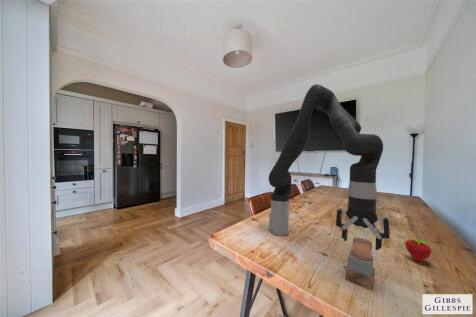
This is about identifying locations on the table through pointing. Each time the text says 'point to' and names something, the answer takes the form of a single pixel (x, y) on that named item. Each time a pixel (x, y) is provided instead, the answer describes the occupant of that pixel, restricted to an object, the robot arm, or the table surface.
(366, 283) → the tower base
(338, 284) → the table surface
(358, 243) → the terracotta cylinder
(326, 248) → the table surface
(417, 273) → the table surface
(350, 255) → the tower middle
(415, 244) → the strawberry
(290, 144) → the robot arm
